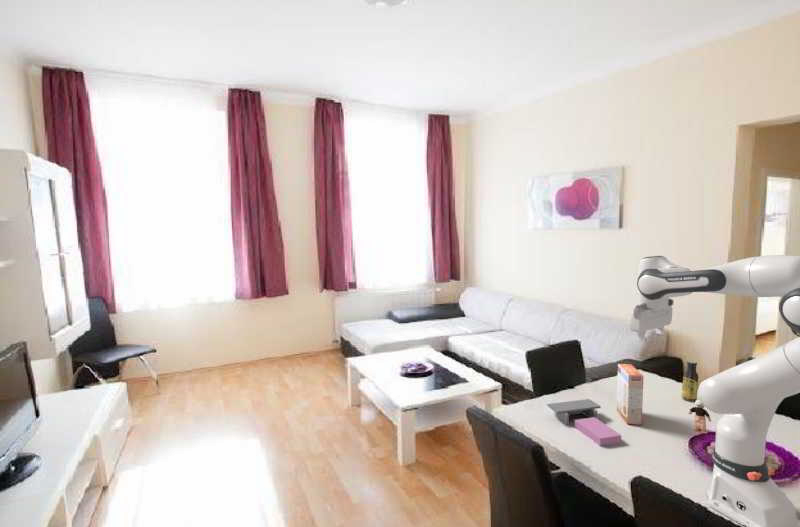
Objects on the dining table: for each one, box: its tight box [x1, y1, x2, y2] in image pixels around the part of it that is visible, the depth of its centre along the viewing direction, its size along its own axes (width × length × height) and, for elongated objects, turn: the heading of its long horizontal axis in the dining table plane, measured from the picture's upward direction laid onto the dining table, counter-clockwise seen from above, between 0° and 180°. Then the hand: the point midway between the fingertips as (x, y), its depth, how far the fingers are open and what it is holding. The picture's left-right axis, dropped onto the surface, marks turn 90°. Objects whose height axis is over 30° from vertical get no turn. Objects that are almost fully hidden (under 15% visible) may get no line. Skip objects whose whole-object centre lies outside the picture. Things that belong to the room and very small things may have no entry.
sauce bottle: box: [681, 360, 699, 403], centre depth 189 cm, size 6×6×18 cm
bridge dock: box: [546, 398, 602, 426], centre depth 175 cm, size 10×20×5 cm, turn 101°
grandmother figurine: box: [688, 398, 712, 434], centre depth 162 cm, size 8×4×13 cm, turn 41°
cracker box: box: [616, 363, 645, 426], centre depth 174 cm, size 14×6×21 cm, turn 168°
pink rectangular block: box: [574, 417, 622, 447], centre depth 161 cm, size 15×9×4 cm, turn 12°
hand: (650, 340), depth 147 cm, fingers open, 8 cm apart
